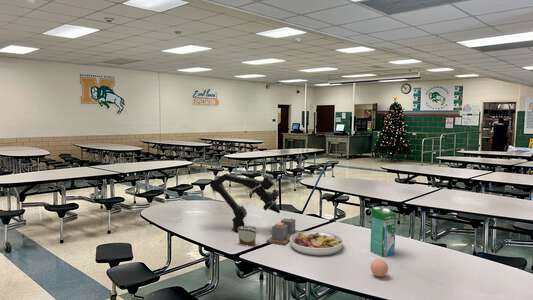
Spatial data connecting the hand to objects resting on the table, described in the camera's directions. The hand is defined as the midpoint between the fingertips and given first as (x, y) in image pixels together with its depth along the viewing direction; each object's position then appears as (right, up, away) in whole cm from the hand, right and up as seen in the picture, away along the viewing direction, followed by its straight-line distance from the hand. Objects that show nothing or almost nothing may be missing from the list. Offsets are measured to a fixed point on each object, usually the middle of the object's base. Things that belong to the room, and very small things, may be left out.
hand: (279, 212), depth 233 cm
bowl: (+20, -16, -23) cm, 35 cm away
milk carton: (+55, -17, -31) cm, 66 cm away
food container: (-19, -15, -18) cm, 30 cm away
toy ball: (+44, -20, -61) cm, 78 cm away
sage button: (+5, -6, -1) cm, 8 cm away
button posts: (+2, -13, -7) cm, 15 cm away
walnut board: (+2, -14, -6) cm, 16 cm away
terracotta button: (0, -7, -13) cm, 15 cm away
